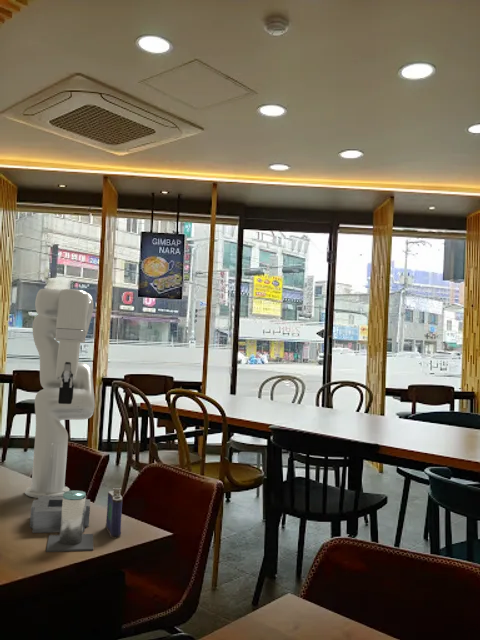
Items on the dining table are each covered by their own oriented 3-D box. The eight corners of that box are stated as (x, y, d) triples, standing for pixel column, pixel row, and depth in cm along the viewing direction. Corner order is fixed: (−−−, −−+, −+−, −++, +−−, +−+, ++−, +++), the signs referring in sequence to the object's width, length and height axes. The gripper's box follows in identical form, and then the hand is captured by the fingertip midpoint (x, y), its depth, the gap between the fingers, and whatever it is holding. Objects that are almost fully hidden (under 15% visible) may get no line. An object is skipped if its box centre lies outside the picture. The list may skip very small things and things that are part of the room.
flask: (104, 526, 141) (107, 483, 142) (116, 525, 142) (119, 483, 143) (110, 538, 133) (114, 493, 133) (123, 537, 134) (126, 492, 134)
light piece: (60, 537, 130) (64, 490, 130) (82, 536, 131) (86, 490, 132) (58, 545, 125) (62, 496, 126) (81, 544, 126) (85, 496, 127)
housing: (33, 515, 146) (35, 496, 147) (88, 514, 150) (89, 495, 150) (27, 532, 133) (29, 511, 133) (88, 531, 137) (90, 510, 137)
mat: (49, 536, 131) (49, 534, 131) (92, 535, 134) (93, 533, 134) (46, 551, 122) (46, 550, 122) (93, 550, 124) (93, 548, 124)
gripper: (57, 335, 154) (52, 398, 153) (53, 335, 138) (48, 404, 137) (85, 337, 156) (80, 399, 155) (85, 337, 139) (80, 405, 139)
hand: (65, 401), depth 146 cm, fingers open, 9 cm apart
